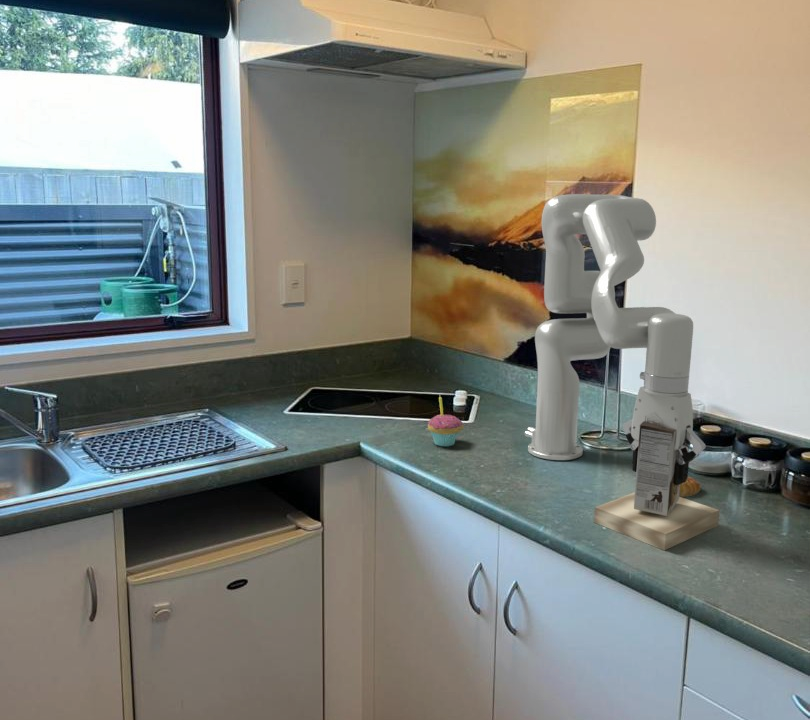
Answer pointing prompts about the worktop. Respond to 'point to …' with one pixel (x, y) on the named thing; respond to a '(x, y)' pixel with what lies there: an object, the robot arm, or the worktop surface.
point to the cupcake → (444, 428)
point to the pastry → (689, 487)
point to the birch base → (657, 521)
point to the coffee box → (656, 470)
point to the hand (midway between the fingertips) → (658, 476)
